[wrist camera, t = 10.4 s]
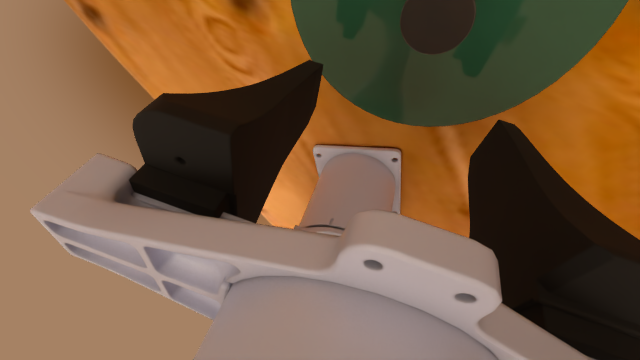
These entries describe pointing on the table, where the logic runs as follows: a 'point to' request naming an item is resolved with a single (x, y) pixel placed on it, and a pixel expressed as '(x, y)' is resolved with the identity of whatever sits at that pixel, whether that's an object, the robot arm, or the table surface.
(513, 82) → the lid
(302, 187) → the table surface
